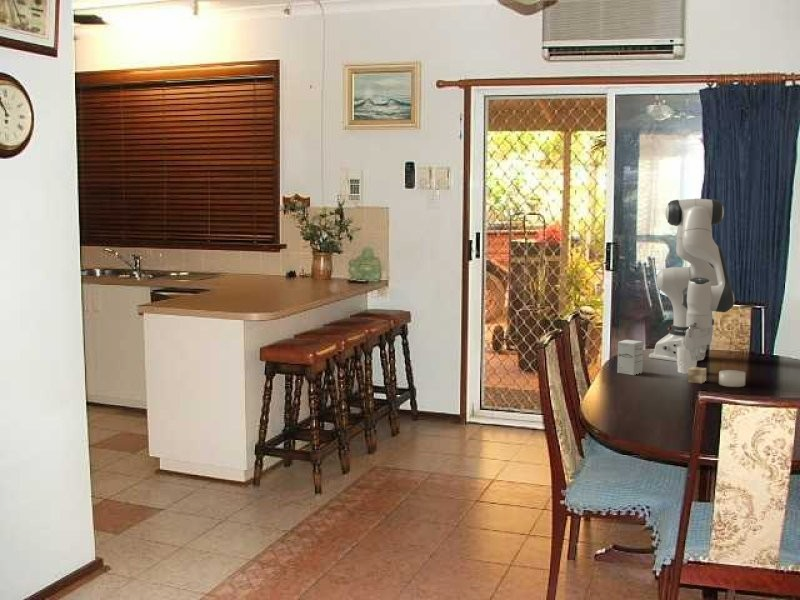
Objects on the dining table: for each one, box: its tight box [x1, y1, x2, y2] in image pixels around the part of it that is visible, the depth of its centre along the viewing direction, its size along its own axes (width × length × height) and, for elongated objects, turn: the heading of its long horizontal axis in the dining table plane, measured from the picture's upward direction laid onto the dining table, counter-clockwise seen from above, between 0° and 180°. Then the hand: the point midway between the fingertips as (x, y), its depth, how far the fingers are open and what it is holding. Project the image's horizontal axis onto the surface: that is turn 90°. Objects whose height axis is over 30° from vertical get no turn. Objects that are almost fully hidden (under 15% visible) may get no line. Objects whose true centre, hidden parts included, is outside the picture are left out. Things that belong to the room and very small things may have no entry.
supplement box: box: [617, 339, 644, 376], centre depth 344 cm, size 7×7×13 cm
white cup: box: [676, 346, 698, 375], centre depth 343 cm, size 8×8×10 cm
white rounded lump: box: [718, 369, 746, 388], centre depth 321 cm, size 9×9×4 cm
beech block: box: [687, 366, 707, 384], centre depth 326 cm, size 5×5×5 cm
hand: (698, 359), depth 325 cm, fingers open, 8 cm apart
